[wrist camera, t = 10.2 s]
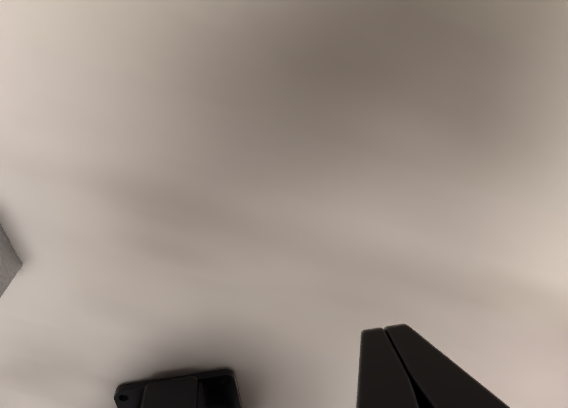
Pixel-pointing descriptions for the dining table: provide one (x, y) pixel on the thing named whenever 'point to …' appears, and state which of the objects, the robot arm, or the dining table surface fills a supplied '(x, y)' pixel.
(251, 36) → the dining table surface
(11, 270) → the long grey bar
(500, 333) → the dining table surface
